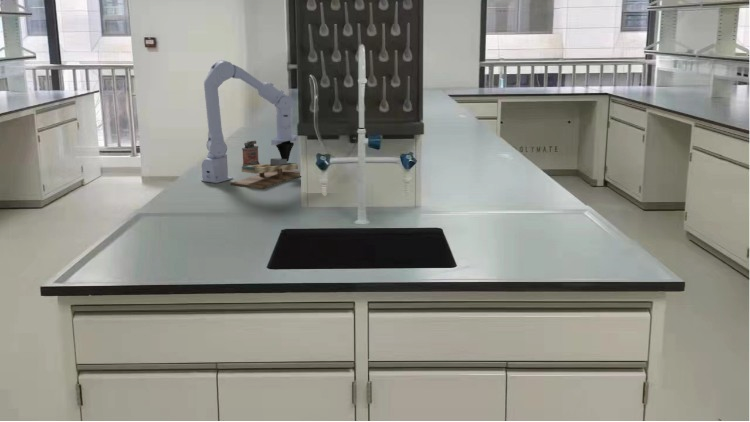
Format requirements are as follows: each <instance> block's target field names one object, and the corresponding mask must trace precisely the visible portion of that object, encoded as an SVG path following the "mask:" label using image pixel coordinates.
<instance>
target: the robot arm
mask: <svg viewBox="0 0 750 422" xmlns="http://www.w3.org/2000/svg"><path fill="white" fill-rule="evenodd" d="M231 78H232V79H237V80H238V79H239V80H241V81H243V82H244V83H246V84H247V85H249V86H250V87H252V88H254V89H256V90H257V93H258V95H259V96H260V97H261V98H263V99H264V100H266V101H267V102H269V103H270V104H272V105H274V106H275V108H276V110H275V111H276V115H275V116H276V117H275V118H276V119H275V120H276V137H275V138H273V139H271V140H270V141H271V142H270V143H271V146H275V147H276V148H277V150H278V153H279V154H280V158H283V159H287V162H289V160H290V156H291V152H292V150H293V147H294V141H298V134H297V135H295V134H293V125H292V123H293V122H292V108H293V107H294V102H293V100H292V97H290V96H289V95H286V94H285V93H284V91H283V90H279V89H278V88H277V87H275V86H274V83H272V82H267V81H265V82H261V80H258V79H257V78H256V77H255V76H253V75H252V74H250V73H249V72H247V71H246V70H245V69H243V67H239V66H238V65H235V64H232V62H230V61H227V60H222V59H221V60H217V61H216V62H215V63H214V64H212V66H211V67H210V69H209V72H208V74H207V76H206V78H205V79H204V81H203V86H204V87H203V89H204V98H205V99H204V100H205V108H206V118H207V129H208V133H207V137H208V138H207V139H208V140H207V141H206V149H207V150H208V153H207V155H206V158H205V159H203V161H202V163H201V175H202V177H201V178H202V179H200V181H201V182H206V183H207V182H208V183H215V184H218V183H222V182H226V181H229V180H233V179H234V177H232V176H229V170H228V169H229V168H228V166H229V165H228V154H227V151H228V146H227V144H226V142H225V139H224V135H223V130H222V129H223V128H222V120H221V119H222V118H221V107H220V100H219V99H220V96H219V87H220V86H221V85H222V84H223V83H224V82H226V81H227V80H229V79H231Z"/></svg>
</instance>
